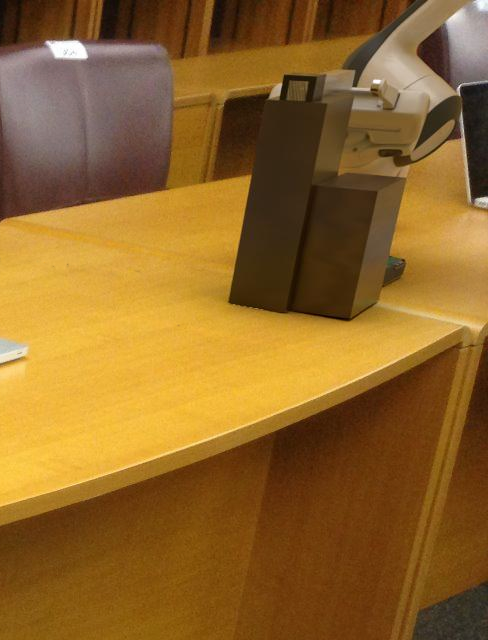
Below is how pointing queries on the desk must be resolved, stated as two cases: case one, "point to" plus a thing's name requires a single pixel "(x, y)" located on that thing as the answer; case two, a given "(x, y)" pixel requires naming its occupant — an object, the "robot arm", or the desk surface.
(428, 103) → the robot arm
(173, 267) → the desk surface
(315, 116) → the stepped stand
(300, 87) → the handle bar
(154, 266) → the desk surface
